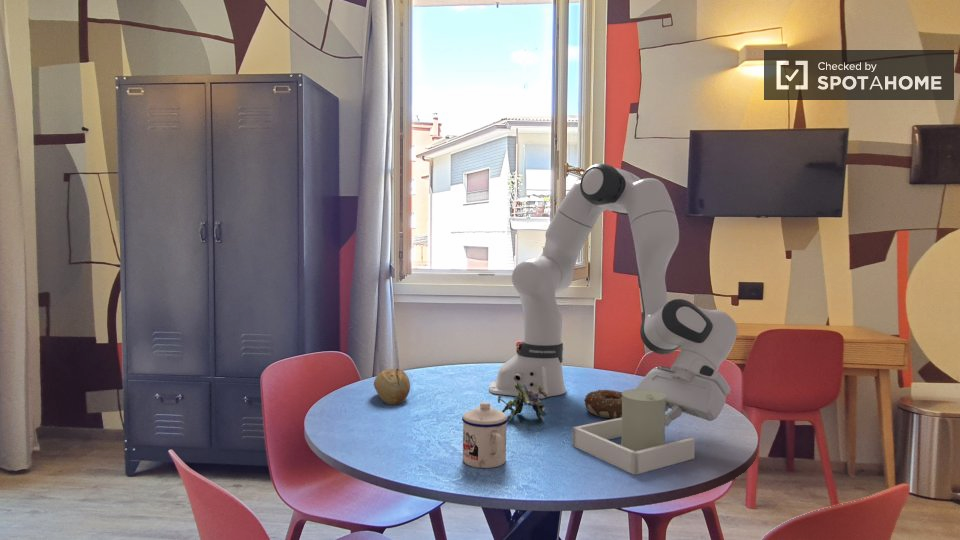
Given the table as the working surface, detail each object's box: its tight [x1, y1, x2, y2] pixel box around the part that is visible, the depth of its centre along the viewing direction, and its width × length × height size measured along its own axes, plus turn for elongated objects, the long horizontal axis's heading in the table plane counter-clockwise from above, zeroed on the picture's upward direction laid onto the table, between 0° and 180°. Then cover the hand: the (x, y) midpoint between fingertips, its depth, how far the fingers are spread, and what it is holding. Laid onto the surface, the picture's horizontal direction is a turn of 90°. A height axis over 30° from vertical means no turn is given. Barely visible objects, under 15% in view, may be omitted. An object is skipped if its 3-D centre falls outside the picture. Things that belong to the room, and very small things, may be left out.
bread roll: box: [373, 368, 411, 406], centre depth 160 cm, size 10×15×8 cm, turn 21°
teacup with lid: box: [461, 401, 509, 469], centre depth 115 cm, size 12×9×12 cm
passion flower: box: [497, 382, 548, 423], centre depth 142 cm, size 11×11×12 cm
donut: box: [584, 389, 623, 419], centre depth 150 cm, size 14×14×5 cm
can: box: [620, 388, 666, 452], centre depth 124 cm, size 9×9×12 cm
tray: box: [571, 417, 696, 476], centre depth 122 cm, size 17×18×4 cm
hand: (660, 423), depth 126 cm, fingers closed, pressing on can
